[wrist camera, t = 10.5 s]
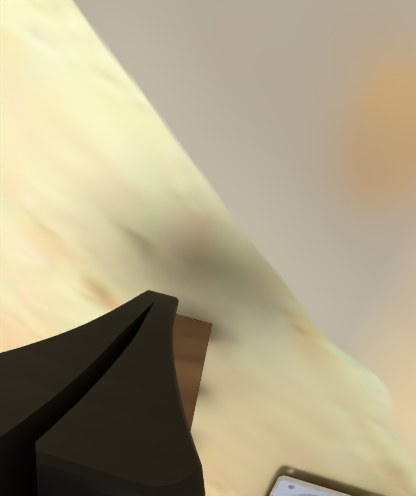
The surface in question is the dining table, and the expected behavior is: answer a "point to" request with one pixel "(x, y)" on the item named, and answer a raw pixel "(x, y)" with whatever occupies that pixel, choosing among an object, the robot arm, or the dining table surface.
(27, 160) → the dining table surface
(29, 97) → the dining table surface
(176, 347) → the brown wooden block
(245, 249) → the dining table surface
